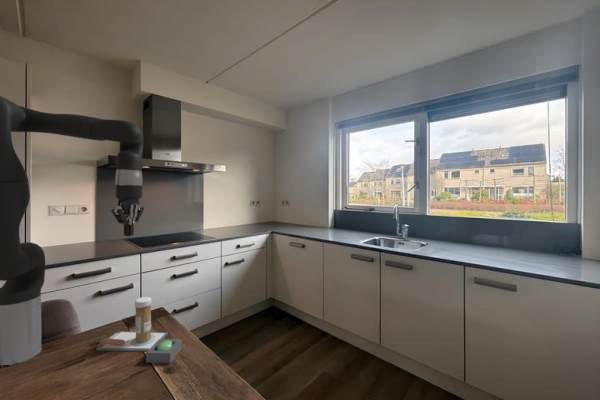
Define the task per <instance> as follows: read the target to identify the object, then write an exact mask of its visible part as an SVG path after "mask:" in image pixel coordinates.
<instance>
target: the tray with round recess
mask: <svg viewBox="0 0 600 400" xmlns="http://www.w3.org/2000/svg"><path fill="white" fill-rule="evenodd" d="M168 334H169V332H167V331H166V332H165V331H164V332H163V331H151V339H150V340H148V341H146V342H144V343H137V342H136V341H135V340H136V331H127V330H126V331H124V330H123V331H122V330H121V331H120V330H119V331H118V332H115V333H113V334H112V335H111V336H110V337H109V338H110V339H120V340H124V341H125V343H124V345H122V346H120V345H110V344H101V345H99V346H98V347H97V348H95V349H96V351H108V352H109V351H113V352H145V353H146V352H147V351H148V350H149V349H150V348H151V347H152V346H153V345H154V344H155V343H156V342H157V341H158V340H159V339H165V338H166V337H167V335H168Z"/></svg>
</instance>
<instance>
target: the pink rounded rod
mask: <svg viewBox="0 0 600 400" xmlns="http://www.w3.org/2000/svg"><path fill="white" fill-rule="evenodd" d="M124 343H125V341H124V340H120V339H110V337H103V338H101V341H100V344H101V345H102V344H110V345H120V346H122V345H124Z"/></svg>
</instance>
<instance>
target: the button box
mask: <svg viewBox="0 0 600 400" xmlns="http://www.w3.org/2000/svg"><path fill="white" fill-rule="evenodd" d="M163 341H172V347H171V348H170V349H169V350H168V351H160V350H157V345H158V344H159V343H160V342H163ZM182 341H183V340H182V339H180V338H178V339H177V338H175V339H174V338H173V339H172V338H164V339H159V340H158V341H157V342H156V343H155V344H154V345H153V346H152V347H151V348H150V349H149V350H148V351H147V352H146V351H145V363H147V364H149V363H153V364H154V363H157V364H171V363H172V362H173V361H174V359H176V356H178V354H179V353H180V352H181V350H182V348H183V347H182V345H183V343H182Z"/></svg>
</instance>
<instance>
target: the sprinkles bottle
mask: <svg viewBox="0 0 600 400" xmlns="http://www.w3.org/2000/svg"><path fill="white" fill-rule="evenodd" d="M134 308H135V320H134V321H135V332H136V340H135V341H136V342H137V343H144V342H146V341H148V340H150V339H151V332H152V312H151V311H152V310H151V309H152V297H150V296H142V297H139V298H137V299H135V302H134Z"/></svg>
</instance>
